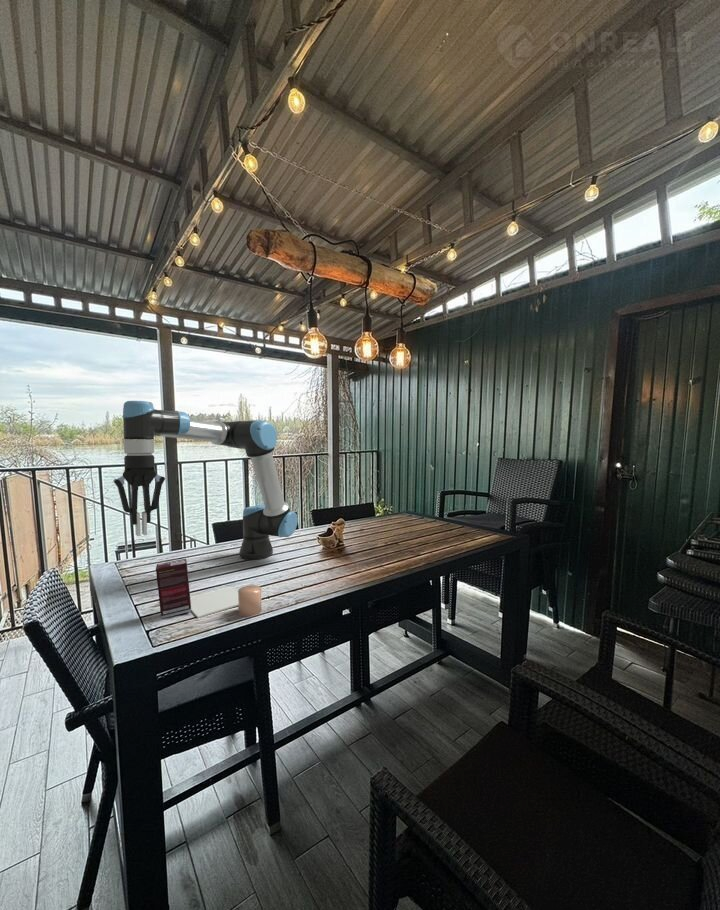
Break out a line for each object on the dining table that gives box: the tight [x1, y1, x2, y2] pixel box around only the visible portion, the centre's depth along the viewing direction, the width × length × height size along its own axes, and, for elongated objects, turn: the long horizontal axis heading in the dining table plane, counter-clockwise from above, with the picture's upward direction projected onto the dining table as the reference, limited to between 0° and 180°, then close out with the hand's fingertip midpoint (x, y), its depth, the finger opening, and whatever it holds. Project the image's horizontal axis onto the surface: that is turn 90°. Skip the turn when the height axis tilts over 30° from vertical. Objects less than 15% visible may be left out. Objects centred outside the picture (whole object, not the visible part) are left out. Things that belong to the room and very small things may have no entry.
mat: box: [190, 585, 238, 619], centre depth 124 cm, size 17×16×1 cm
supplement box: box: [155, 558, 192, 619], centre depth 115 cm, size 9×5×16 cm, turn 116°
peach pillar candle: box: [237, 584, 262, 617], centre depth 117 cm, size 7×7×7 cm
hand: (141, 534), depth 108 cm, fingers closed
